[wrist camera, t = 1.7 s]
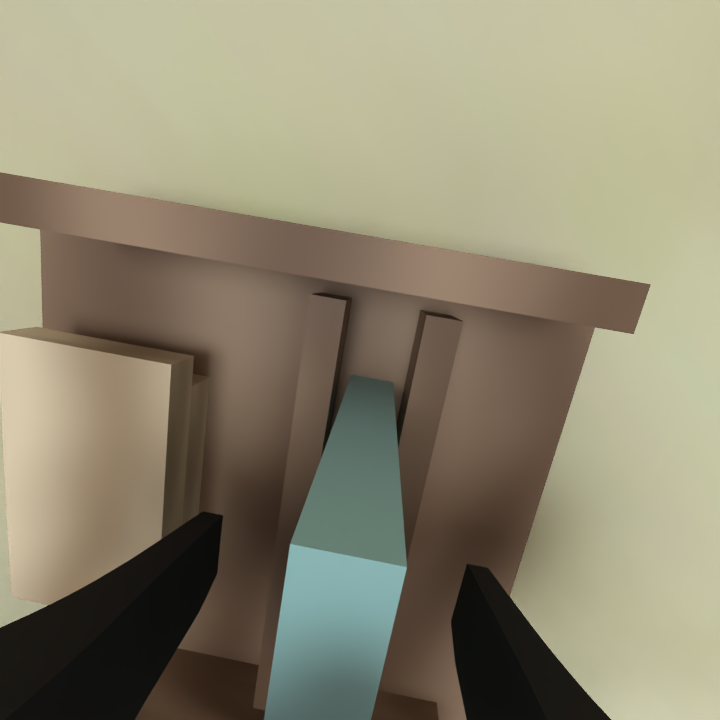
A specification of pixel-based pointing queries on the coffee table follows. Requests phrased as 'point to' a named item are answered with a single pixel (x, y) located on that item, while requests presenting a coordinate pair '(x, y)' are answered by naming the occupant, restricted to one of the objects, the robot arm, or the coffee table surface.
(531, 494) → the rack
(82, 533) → the offcut upper
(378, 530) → the sheet
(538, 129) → the coffee table surface
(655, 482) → the coffee table surface
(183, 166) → the coffee table surface
